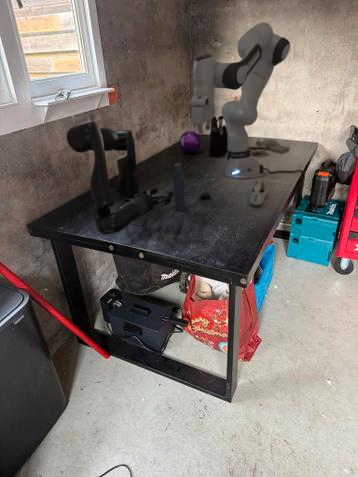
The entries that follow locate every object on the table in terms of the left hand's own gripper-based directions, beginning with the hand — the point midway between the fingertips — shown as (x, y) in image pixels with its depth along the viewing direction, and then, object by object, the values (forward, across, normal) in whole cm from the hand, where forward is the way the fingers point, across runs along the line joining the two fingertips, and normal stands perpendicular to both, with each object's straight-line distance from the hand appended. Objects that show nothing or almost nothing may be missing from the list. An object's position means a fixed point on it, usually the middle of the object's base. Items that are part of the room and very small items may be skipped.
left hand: (164, 191), depth 140 cm
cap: (+27, -5, +11) cm, 29 cm away
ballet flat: (+39, -27, +13) cm, 49 cm away
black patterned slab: (+99, +25, +14) cm, 103 cm away
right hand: (+27, -4, -19) cm, 34 cm away
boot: (+121, +41, +15) cm, 128 cm away
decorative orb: (+91, +45, +14) cm, 103 cm away
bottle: (+10, 0, +12) cm, 16 cm away
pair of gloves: (+116, +2, +14) cm, 117 cm away
